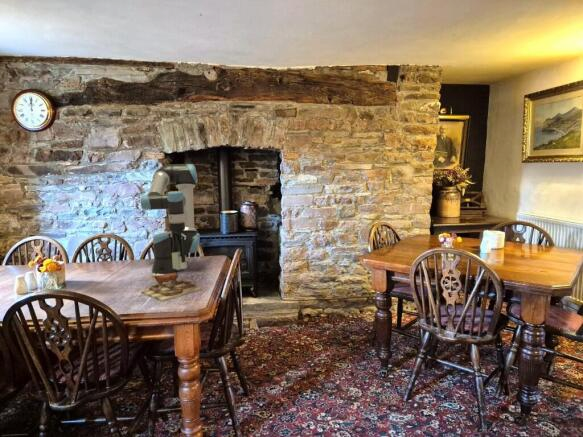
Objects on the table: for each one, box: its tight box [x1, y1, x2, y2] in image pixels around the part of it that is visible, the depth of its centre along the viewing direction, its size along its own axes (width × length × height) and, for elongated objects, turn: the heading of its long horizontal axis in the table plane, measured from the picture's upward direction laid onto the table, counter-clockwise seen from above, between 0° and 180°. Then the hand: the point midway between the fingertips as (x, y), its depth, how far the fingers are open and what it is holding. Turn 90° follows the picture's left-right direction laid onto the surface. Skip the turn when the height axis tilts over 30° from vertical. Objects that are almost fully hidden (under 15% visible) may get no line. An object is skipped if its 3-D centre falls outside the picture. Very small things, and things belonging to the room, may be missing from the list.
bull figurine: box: [149, 272, 179, 290], centre depth 194 cm, size 4×13×8 cm, turn 112°
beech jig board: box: [140, 279, 203, 302], centre depth 197 cm, size 20×22×2 cm
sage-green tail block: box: [172, 251, 188, 271], centre depth 199 cm, size 5×5×8 cm
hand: (179, 267), depth 199 cm, fingers closed on sage-green tail block, 5 cm apart
